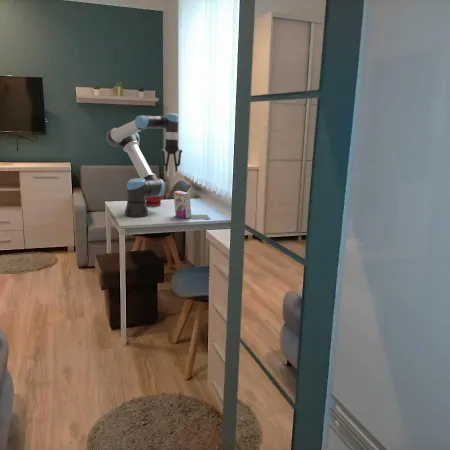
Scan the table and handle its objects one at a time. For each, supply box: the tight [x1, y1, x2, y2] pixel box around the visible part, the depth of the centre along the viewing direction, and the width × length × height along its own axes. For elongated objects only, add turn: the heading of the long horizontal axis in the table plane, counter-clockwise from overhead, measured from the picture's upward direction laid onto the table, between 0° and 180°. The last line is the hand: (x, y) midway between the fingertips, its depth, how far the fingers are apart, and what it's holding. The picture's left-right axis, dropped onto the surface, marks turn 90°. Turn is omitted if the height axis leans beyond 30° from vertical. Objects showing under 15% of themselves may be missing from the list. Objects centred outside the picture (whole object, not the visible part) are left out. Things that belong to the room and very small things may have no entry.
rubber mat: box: [189, 214, 211, 220], centre depth 288 cm, size 13×12×1 cm
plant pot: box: [146, 193, 164, 207], centre depth 318 cm, size 13×13×12 cm
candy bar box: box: [173, 190, 192, 220], centre depth 284 cm, size 11×5×16 cm, turn 44°
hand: (171, 176), depth 278 cm, fingers open, 3 cm apart
